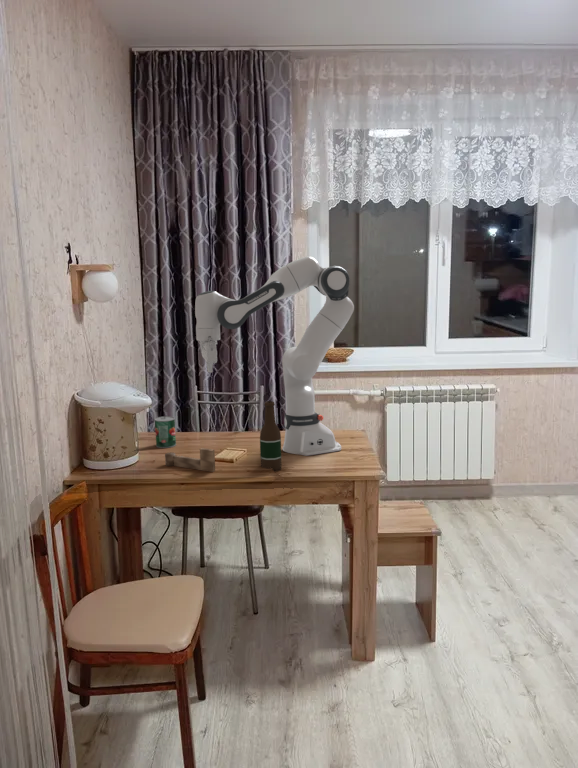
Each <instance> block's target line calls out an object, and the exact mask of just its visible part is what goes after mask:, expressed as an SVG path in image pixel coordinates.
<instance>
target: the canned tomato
mask: <svg viewBox="0 0 578 768" xmlns="http://www.w3.org/2000/svg"><path fill="white" fill-rule="evenodd" d="M154 429H155V431H154V432H155V446H156V448H159V449H168V448H173V447H175V446H177V438H176V419H175V416H170V415H169V416H167V415H166V416H165V415H164V416H158V417H154Z"/></svg>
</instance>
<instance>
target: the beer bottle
mask: <svg viewBox="0 0 578 768" xmlns="http://www.w3.org/2000/svg"><path fill="white" fill-rule="evenodd" d="M275 406H276V405H275V401H274V400H269V401H265V402H264V408H265V409H264V424H263V426H262V428H261V429H260V432H259V433H260V435H259V450H260V451H259V455H260V468H264V469H272V471H273V472H274V473H276V472H279V471H281V470H282V437H281V431H280V428H279V426H278V425H277V423H276V416H275Z"/></svg>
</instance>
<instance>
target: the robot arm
mask: <svg viewBox="0 0 578 768" xmlns="http://www.w3.org/2000/svg"><path fill="white" fill-rule="evenodd" d="M267 279H268V280H267V281H266V282H265V283H264V285H262V286H261V287H260V288H258V289H257V290H255V291H253V292H251V293H250V294H247V295H246V296H245V297H243V298H241V299H232V298H229V297H227V296H225V295H222V294H221V293H219V292H217V291H215V290H207V291H204V292H203V291H202V292H200V293H199V294H197V296H196V298H195V305H194V310H195V311H194V314H195V315H194V316H195V318H196V320H195V321H196V325H195V335H196V336H195V339H196V341H199V347H200V353H201V356H202V358H203V359H204V360H205V364H206V370H207V371H206V372H208V373H209V374H211V373H213V372H214V371H213V369H214V364H217V363H218V351H217V349H218V348H217V345H218V341H220V340H221V327H223V328H225V329H227V330H235V329H236V330H237V329H238V328H240V327H242V326H243V324H244V323H245V322H246V320H247V319H248V318H249V317H250V316H251V315H252V314H254V313H255V312H258V311H259V310H261V309H262V308H264V307H266V306H267V305H269V304H271V303H274V302H277V301H281V300H283V299H286V298H290V297H292V296H293V295H296V294H298V293H300V292H302V291H303V290H305V289H307V288H310V287H314V288H315V289H316V290H317V291H318V292H319V294H321V295H323V296H324V297H325V302H324V304H323V306H322V307H321V309H320V310H319V311H318V312H317V314H316V316H315V317H314V318H313V320H312V321H311V322H310V323H309V325H308V326H307V328H306V329H305V332H304V333H303V335H302V337H301V339H300V341H299V343H298V344H297V346H292V347H289V348H287V349H286V350H285V351H284V352H283V355H282V359H281V360H282V361H281V362H282V364H281V365H282V374H283V375H282V377H283V385H284V393H285V395H284V397H285V413H284V428H285V434H284V442H283V444H282V445H283V446H282V447H281V450H282V451H283V452H285V453H288V454H293V455H294V454H295V455H302V456H305V457H306V456H313V455H314V456H315V455H320V454H328V453H333V452H340V451H341V450H342V445H341V444H340V442H338V441H336V438H335V434H334V432H333V431H332V430H331V429H330V428H329V427H327V426H326V425H325V424H323V423H322V421H323V420H324V415H322V414H319V413H317V412H316V410H315V408H316V407H315V405H316V404H315V401H316V400H315V399H316V398H315V389H314V384H313V377H314V376H315V375H316V374H317V371H318V369H319V367H320V365H321V364H322V362H323V360H324V358H325V356H326V354H327V353H328V351H329V349H330V348H331V346H332V345H333V343H334V341H336V339H337V338H338V336H339V335H340V334H341V332H343V329H345V327H346V325H347V324H348V322H349V320H350V319H351V317H352V315H353V313H354V311H355V305H354V302H353V301H352V299H351V298H349V297H348V296H349V291H350V285H351V284H350V283H351V279H350V275H349V272H348V271H347V270H346V269H345V268H344V267H342V266H339V265H332V266H328V267H322V266H321V265H320V263H319V261H318V260H317V259H316V258H315V257H314V256H310V255H306V256H303V257H301V258H298V259H295V260H293V261H291V262H289V263H286V264H285V265H283V266H282V267H279V269H277V270H276V271H275V272H273V273H272V274H271V275H270V276H269V277H268V278H267Z"/></svg>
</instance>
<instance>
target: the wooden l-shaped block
mask: <svg viewBox="0 0 578 768" xmlns="http://www.w3.org/2000/svg"><path fill="white" fill-rule="evenodd" d="M215 456H216V455H215V449H214V448H213V449H212V448H205V447H201V448H199V458H195V457H189V456H183V455H176V452H166V453H164V460H165V461H164V462H165V467H178V468H179V467H180V468H184V469H185V468H186V469H191V470H199V471H203V472H210V473H213V472H216V460H215V458H216V457H215Z"/></svg>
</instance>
